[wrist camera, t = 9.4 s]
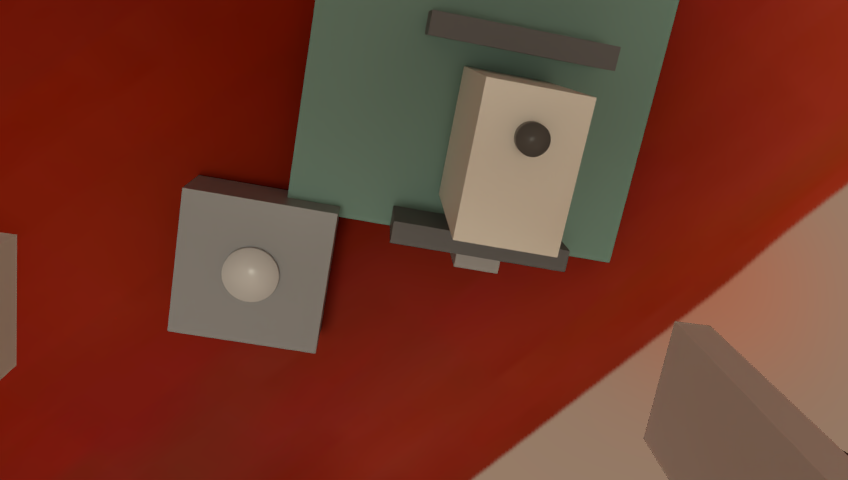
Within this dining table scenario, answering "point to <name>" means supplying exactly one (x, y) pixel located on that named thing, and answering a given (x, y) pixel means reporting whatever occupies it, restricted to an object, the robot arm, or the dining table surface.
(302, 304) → the button
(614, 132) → the board
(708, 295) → the dining table surface
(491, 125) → the plug
